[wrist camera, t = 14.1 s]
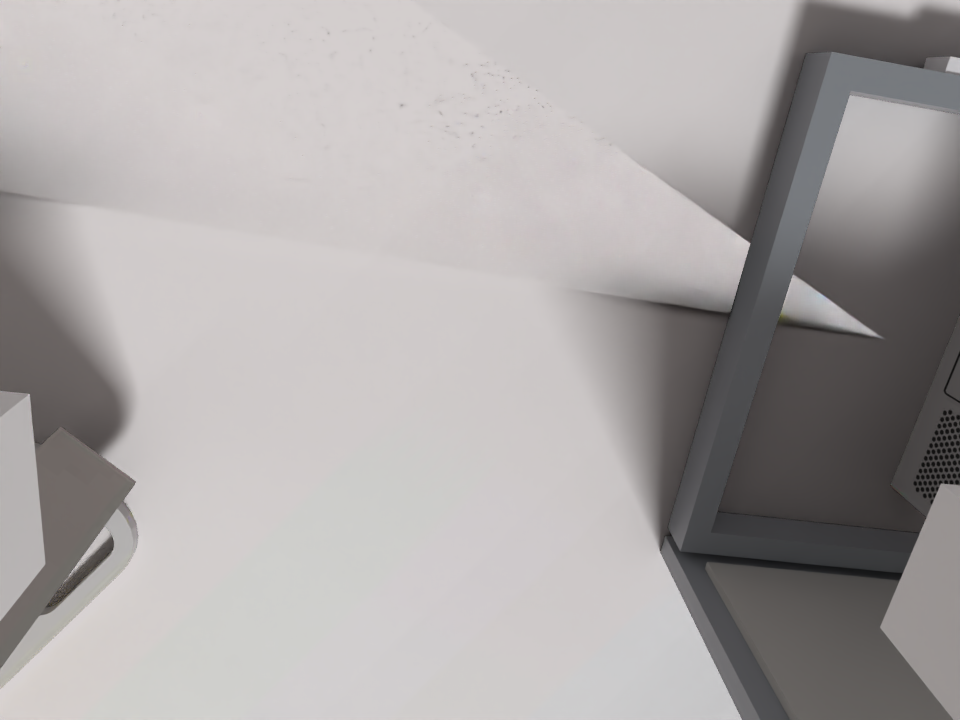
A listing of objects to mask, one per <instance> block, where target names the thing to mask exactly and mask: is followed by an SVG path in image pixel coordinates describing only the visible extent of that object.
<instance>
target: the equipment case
mask: <svg viewBox="0 0 960 720" xmlns="http://www.w3.org/2000/svg"><path fill="white" fill-rule="evenodd" d="M849 95H854V96H860V97H865V98H871V99H876V100H882V101H887V102H893V103H899V104H904V105H910V106H915V107H921V108H926V109H932V110H937V111H943V112H948V113H954V114H959V115H960V58H957V57H952V56H947V57H927V59H926V62H925V65H924V68H923V69H922V68H917V67H911V66H906V65H901V64H895V63H890V62H885V61H879V60H874V59H869V58H863V57H858V56H853V55H847V54H842V53H837V52H819V53H806V56H805V59H804V62H803V66H802V69H801V73H800V76H799V80H798V83H797V86H796V90H795V93H794V97H793V100H792V103H791V107H790V110H789V114H788V117H787V121H786V124H785V127H784V131H783V134H782V138H781V141H780V145H779V148H778V151H777V155H776V158H775V162H774V165H773V169H772V172H771V175H770V179H769V182H768V186H767V189H766V192H765V196H764V199H763V203H762V206H761V210H760V213H759V216H758V220H757V223H756V227H755V230H754V234H753V237H752V240H751V244H750V247H749V251H748V254H747V258H746V261H745V264H744V268H743V271H742V275H741V278H740V282H739V285H738V288H737V292H736V295H735V299H734V302H733V305H732V309H731V312H730V316H729V319H728V323H727V326H726V329H725V333H724V336H723V340H722V343H721V347H720V350H719V353H718V357H717V360H716V364H715V367H714V371H713V374H712V377H711V381H710V384H709V388H708V391H707V395H706V398H705V401H704V405H703V408H702V412H701V415H700V418H699V422H698V425H697V429H696V432H695V436H694V439H693V442H692V446H691V449H690V453H689V456H688V460H687V463H686V466H685V470H684V473H683V477H682V480H681V484H680V487H679V490H678V494H677V497H676V501H675V504H674V507H673V511H672V514H671V518H670V521H669V525H668V529H669V531H670V533H671V535H672V537H671V536H665V538H664V542H663V545H662V549H661V552H660V553H661V555H662V557H663V559H664V561H665V563H666V565H667V567H668V569H669V571H670V573H671V575H672V577H673V579H674V581H675V583H676V585H677V587H678V589H679V591H680V593H681V595H682V597H683V600H684V602H685V604H686V606H687V608H688V610H689V612H690V614H691V616H692V618H693V620H694V622H695V624H696V626H697V628H698V630H699V632H700V634H701V636H702V638H703V640H704V642H705V644H706V647H707V649H708V651H709V653H710V655H711V657H712V659H713V661H714V663H715V665H716V667H717V669H718V671H719V673H720V675H721V677H722V679H723V681H724V683H725V685H726V687H727V689H728V691H729V694H730V696H731V698H732V700H733V702H734V704H735V706H736V708H737V710H738V712H739V714H740V716H741V718H742V720H953V719H952V717H951V716H950V715H949V714H948V712H947V711H946V710H945V709H944V707H943V706H942V705H941V704H940V702H939V701H938V700H937V699H936V697H935V696H934V695H933V693H932V692H931V691H930V690H929V688H928V687H927V686H926V685H925V683H924V682H923V681H922V680H921V678H920V677H919V676H918V675H917V673H916V672H915V671H914V670H913V668H912V667H911V666H910V665H909V663H908V662H907V661H906V660H905V658H904V657H903V656H902V655H901V653H900V652H899V651H898V650H897V648H896V647H895V646H894V645H893V643H892V642H891V641H890V639H889V638H888V637H887V636H886V634H885V633H884V632H883V631H882V629H881V628H880V626H881V624H882V621H883V619H884V617H885V614H886V612H887V610H888V607H889V605H890V603H891V600H892V598H893V595H894V593H895V591H896V588H897V586H898V584H899V581H900V579H901V577H902V574H903V572H904V570H905V567H906V565H907V562H908V560H909V558H910V555H911V553H912V551H913V548H914V546H915V544H916V541H917V539H918V537H919V534H920V533H912V532H902V531H893V530H883V529H874V528H864V527H855V526H845V525H836V524H827V523H817V522H808V521H798V520H789V519H779V518H770V517H760V516H751V515H742V514H732V513H723V512H717V511H718V508H719V505H720V502H721V499H722V496H723V493H724V489H725V486H726V483H727V480H728V477H729V474H730V470H731V467H732V464H733V461H734V458H735V455H736V452H737V448H738V445H739V442H740V439H741V436H742V433H743V429H744V426H745V423H746V420H747V417H748V414H749V411H750V407H751V404H752V401H753V398H754V395H755V392H756V388H757V385H758V382H759V379H760V376H761V373H762V370H763V366H764V363H765V360H766V357H767V354H768V351H769V348H770V344H771V341H772V338H773V335H774V332H775V329H776V325H777V322H778V319H779V316H780V313H781V310H782V307H783V303H784V300H785V297H786V294H787V291H788V288H789V284H790V281H791V278H792V275H793V272H794V269H795V266H796V262H797V259H798V256H799V253H800V250H801V247H802V243H803V240H804V237H805V234H806V231H807V228H808V225H809V221H810V218H811V215H812V212H813V209H814V206H815V202H816V199H817V196H818V193H819V190H820V187H821V184H822V180H823V177H824V174H825V171H826V168H827V165H828V161H829V158H830V155H831V152H832V149H833V146H834V143H835V139H836V136H837V133H838V130H839V127H840V124H841V121H842V117H843V114H844V111H845V108H846V105H847V102H848V98H849Z"/></svg>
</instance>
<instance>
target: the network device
mask: <svg viewBox="0 0 960 720" xmlns="http://www.w3.org/2000/svg"><path fill="white" fill-rule="evenodd" d="M34 445H35V456H36V467H37V478H38V488H39V499H40V510H41V521H42V532H43V542H44V553H45V565H44V567H43V568H42V569H41V570H40V572H39V573H38V574H37V575H36V577H35V578H34V579H33V581H32V582H31V583H30V584H29V586H28V587H27V588H26V589H25V591H24V592H23V593H22V594H21V596H20V597H19V598H18V599H17V601H16V602H15V603H14V605H13V606H12V607H11V608H10V610H9V611H8V612H7V613H6V615H5V616H4V617H3V618H2V620H1V621H0V689H1V688H2V687H3V686H4V685H5V684H6V683H7V682H8V681H9V680H11V679H12V678H13V677H14V676H15V675H16V674H17V673H18V672H19V671H20V670H21V669H22V668H23V667H24V666H25V665H26V664H27V663H28V662H29V661H30V660H31V659H32V658H33V657H34V656H35V655H36V654H37V653H39V652H40V651H41V650H42V649H43V648H44V647H45V646H46V645H47V644H48V643H49V642H50V641H51V640H52V639H53V638H54V637H55V636H56V635H57V634H58V633H59V632H60V631H61V630H62V629H63V628H64V627H66V626H67V625H68V624H69V623H70V622H71V621H72V620H73V619H74V618H75V617H76V616H77V615H78V614H79V613H80V612H81V611H82V610H83V609H84V608H85V607H86V606H87V605H88V604H89V603H90V602H91V601H92V600H94V599H95V598H96V597H97V596H98V595H99V594H100V593H101V592H102V591H103V590H104V589H105V588H106V587H107V586H108V585H109V584H110V583H111V582H112V581H113V580H114V579H115V578H116V577H117V576H118V575H119V574H120V573H121V572H122V571H123V570H124V569H125V567H126V566H127V565H128V563H129V562H130V560H131V559H132V557H133V555H134V552H135V550H136V548H137V542H138V531H137V525H136V522H135V520H134V518H133V515H132V513H131V511H130V510H129V509H128V508H127V506H126V505H125V504H124V502H123V500H124V499H125V497H126V496H127V494H128V493H129V492H130V490H131V489H132V488H133V486H134V485H135V483H136V481H134V480H133V479H132V478H130V477H129V476H128V475H126V474H125V473H123V472H122V471H121V470H119V469H118V468H117V467H115V466H114V465H113V464H111V463H110V462H109V461H107V460H106V459H104V458H103V457H102V456H100V455H99V454H98V453H96V452H95V451H94V450H92V449H91V448H89V447H88V446H87V445H85V444H84V443H83V442H81V441H80V440H79V439H77V438H76V437H74V436H73V435H72V434H70V433H69V432H68V431H66V430H65V429H64V428H62V427H60V428H59V429H58V430H57V431H55V432H54V433H53V434H52V435H51V436H50V437H49V438H48V439H47V440H46V441H45V442H44V443H43V444H39V443H36V442H34ZM103 527H106V528H107V529H108V531H109V532H110V533H111V535H112V537H113V540H114V549H113V551H111V552H110V553H109V554H108V555H107V556H106V557H105V558H104V559H103V560H102V561H101V562H100V563H99V564H98V565H97V566H96V567H95V568H94V569H93V570H92V571H91V572H90V573H89V574H88V575H87V576H86V577H85V578H84V579H83V580H82V581H81V582H80V583H79V584H78V585H77V586H76V587H75V588H74V589H73V590H72V591H71V592H70V593H69V594H68V595H66V596H65V597H64V598H63V599H62V600H61V601H60V602H59V603H58V604H56V605H53V606H49V607H46V606H47V604H48V603H49V602H50V600H51V599H52V597H53V596H54V595H55V593H56V592H57V591H58V589H59V588H60V586H61V585H62V584H63V582H64V581H65V580H66V578H67V577H68V575H69V574H70V573H71V571H72V570H73V569H74V567H75V566H76V564H77V563H78V562H79V560H80V559H81V558H82V556H83V555H84V553H85V552H86V551H87V549H88V548H89V547H90V545H91V544H92V543H93V541H94V540H95V538H96V537H97V536H98V534H99V533H100V532H101V530H102V529H103Z"/></svg>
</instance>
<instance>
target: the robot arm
mask: <svg viewBox="0 0 960 720" xmlns="http://www.w3.org/2000/svg"><path fill="white" fill-rule="evenodd" d="M44 565H45V553H44V542H43V532H42V521H41V510H40V499H39V488H38V478H37V467H36V456H35V445H34V434H33V424H32V413H31V402H30V394H27V393H17V392H7V391H0V621H1V620H2V618H3V617H4V616H5V615H6V613H7V612H8V611H9V610H10V608H11V607H12V606H13V605H14V603H15V602H16V601H17V599H18V598H19V597H20V596H21V594H22V593H23V592H24V591H25V589H26V588H27V587H28V586H29V584H30V583H31V582H32V581H33V579H34V578H35V577H36V575H37V574H38V573H39V572H40V570H41V569H42V568H43V567H44ZM880 628H881V629H882V631H883V632H884V633H885V634H886V636H887V637H888V638H889V639H890V641H891V642H892V643H893V645H894V646H895V647H896V648H897V650H898V651H899V652H900V653H901V655H902V656H903V657H904V658H905V660H906V661H907V662H908V663H909V665H910V666H911V667H912V668H913V670H914V671H915V672H916V673H917V675H918V676H919V677H920V678H921V680H922V681H923V682H924V683H925V685H926V686H927V687H928V688H929V690H930V691H931V692H932V693H933V695H934V696H935V697H936V699H937V700H938V701H939V702H940V704H941V705H942V706H943V707H944V709H945V710H946V711H947V712H948V714H949V715H950V716H951V717H952V719H953V720H960V485H951V484H941V485H940V487H939V489H938V492H937V494H936V496H935V499H934V501H933V504H932V506H931V508H930V511H929V513H928V515H927V518H926V520H925V522H924V525H923V527H922V529H921V532H920V534H919V537H918V539H917V541H916V544H915V546H914V548H913V551H912V553H911V555H910V558H909V560H908V562H907V565H906V567H905V570H904V572H903V574H902V577H901V579H900V581H899V584H898V586H897V588H896V591H895V593H894V595H893V598H892V600H891V603H890V605H889V607H888V610H887V612H886V614H885V617H884V619H883V621H882V624H881V626H880Z"/></svg>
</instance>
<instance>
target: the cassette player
mask: <svg viewBox="0 0 960 720" xmlns="http://www.w3.org/2000/svg"><path fill="white" fill-rule="evenodd" d="M941 484H951V485H960V315H959V318H958V320H957V323H956V325H955V328H954V330H953V332H952V335H951V337H950V340H949V342H948V345H947V347H946V350H945V352H944V355H943V357H942V360H941V362H940V364H939V367H938V369H937V372H936V374H935V377H934V379H933V382H932V384H931V387H930V389H929V392H928V394H927V397H926V399H925V401H924V404H923V406H922V409H921V411H920V414H919V416H918V419H917V421H916V424H915V426H914V429H913V431H912V433H911V436H910V438H909V441H908V443H907V446H906V448H905V451H904V453H903V456H902V458H901V461H900V463H899V465H898V468H897V470H896V473H895V475H894V478H893V480H892V483H891V485H890V486H891V487H892V488H894V489H895V490H896V491H897V492H898V493H899V494H900V495H901V496H903V497H904V498H905V499H906V500H907V501H908V502H909V503H911V504H912V505H913V506H914V507H915V508H916V509H917V510H919V511H920V512H921V513H922V514H923V515H924V516H925V517H926V518H927V515H928V513H929V511H930V508H931V506H932V504H933V501H934V499H935V496H936V494H937V492H938V489H939V487H940V485H941Z"/></svg>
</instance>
